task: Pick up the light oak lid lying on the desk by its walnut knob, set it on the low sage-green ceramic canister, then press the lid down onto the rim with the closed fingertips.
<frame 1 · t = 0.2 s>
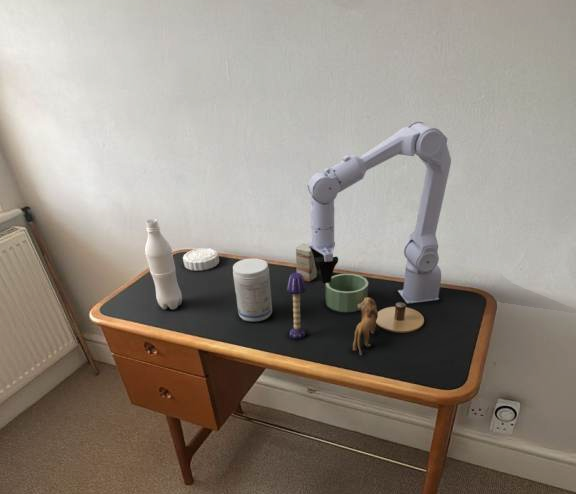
hand: (323, 276, 124), 10 cm above the table, tool pointing down, fingers open, 7 cm apart
beige rectangular box: (306, 278, 146), on the table
lid: (399, 319, 122), point 1 cm above the table
canister: (346, 303, 132), on the table
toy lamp: (298, 335, 121), on the table
water bottle: (171, 306, 136), on the table
mooncake: (202, 264, 159), on the table
lion figurine: (363, 340, 117), on the table
supplement tub: (255, 315, 130), on the table
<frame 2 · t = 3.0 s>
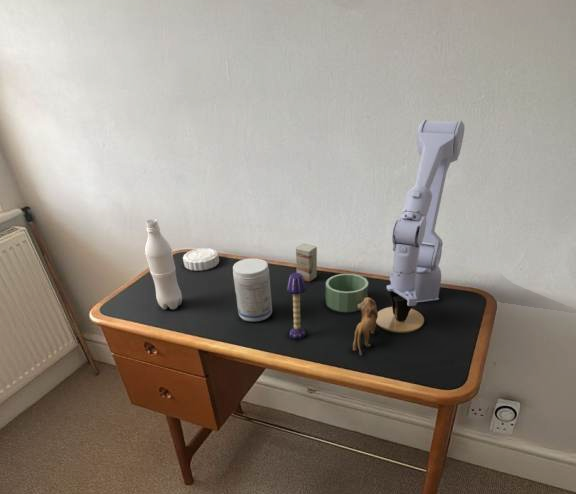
hand: (399, 317, 122), 1 cm above the table, tool pointing down, fingers closed on lid, 2 cm apart
lid: (399, 319, 122), point 1 cm above the table, touching gripper
everything else where it was.
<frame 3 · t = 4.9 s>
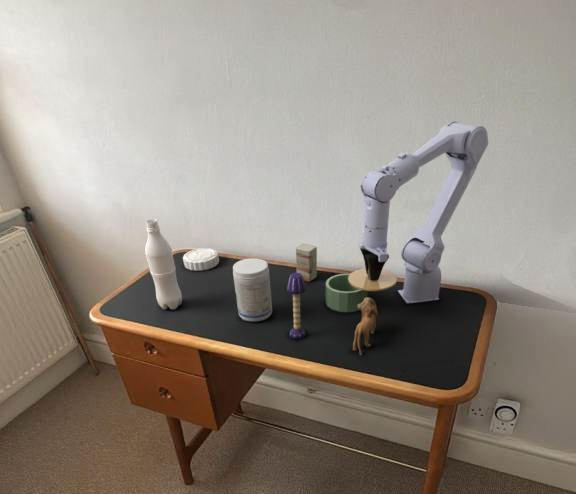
hand: (372, 276, 121), 10 cm above the table, tool pointing down, fingers closed on lid, 2 cm apart
lid: (372, 279, 121), point 10 cm above the table, touching gripper
everything else where it was.
when the fingers open (7 cm above the table, at t = 6.9 s): lid stays where it is, resting on canister.
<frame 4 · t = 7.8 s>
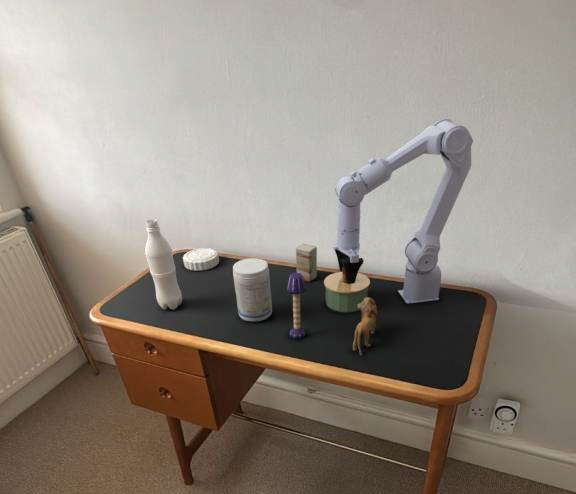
hand: (347, 277, 127), 8 cm above the table, tool pointing down, fingers open, 7 cm apart
lid: (346, 282, 128), point 6 cm above the table, touching canister
everything else where it was.
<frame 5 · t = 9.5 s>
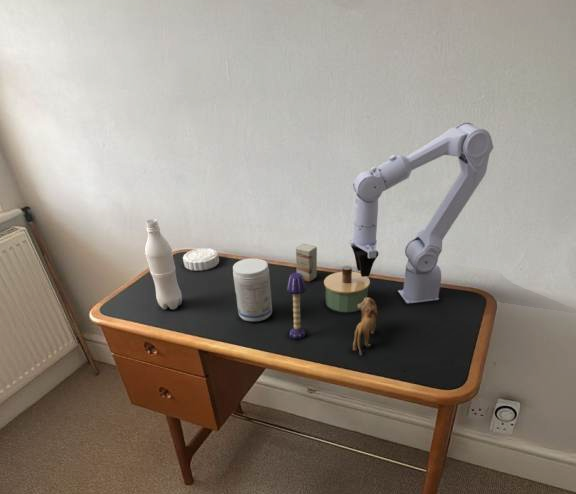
hand: (363, 272, 127), 9 cm above the table, tool pointing down, fingers open, 3 cm apart
nothing on the table moved.
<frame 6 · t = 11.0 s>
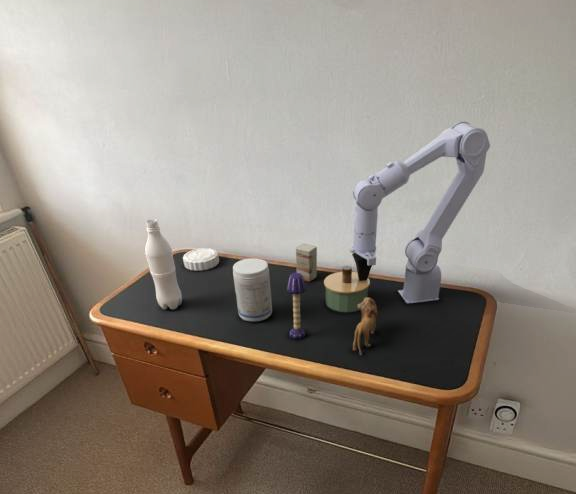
hand: (362, 279, 128), 7 cm above the table, tool pointing down, fingers closed, pressing on lid
lid: (346, 282, 128), point 6 cm above the table, touching canister, gripper
everything else where it was.
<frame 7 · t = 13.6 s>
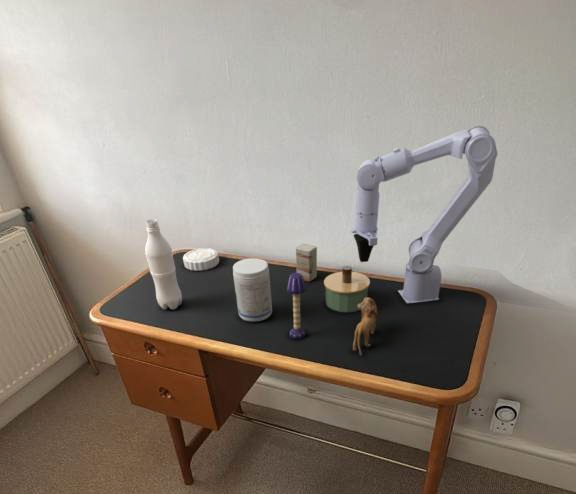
hand: (363, 260, 129), 10 cm above the table, tool pointing down, fingers closed
lid: (346, 282, 128), point 6 cm above the table, touching canister
everything else where it was.
at the end: lid 0.1 cm off-centre on the canister, point 6.4 cm above the canister's base; lid tilted 0°; the gripper is holding nothing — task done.
